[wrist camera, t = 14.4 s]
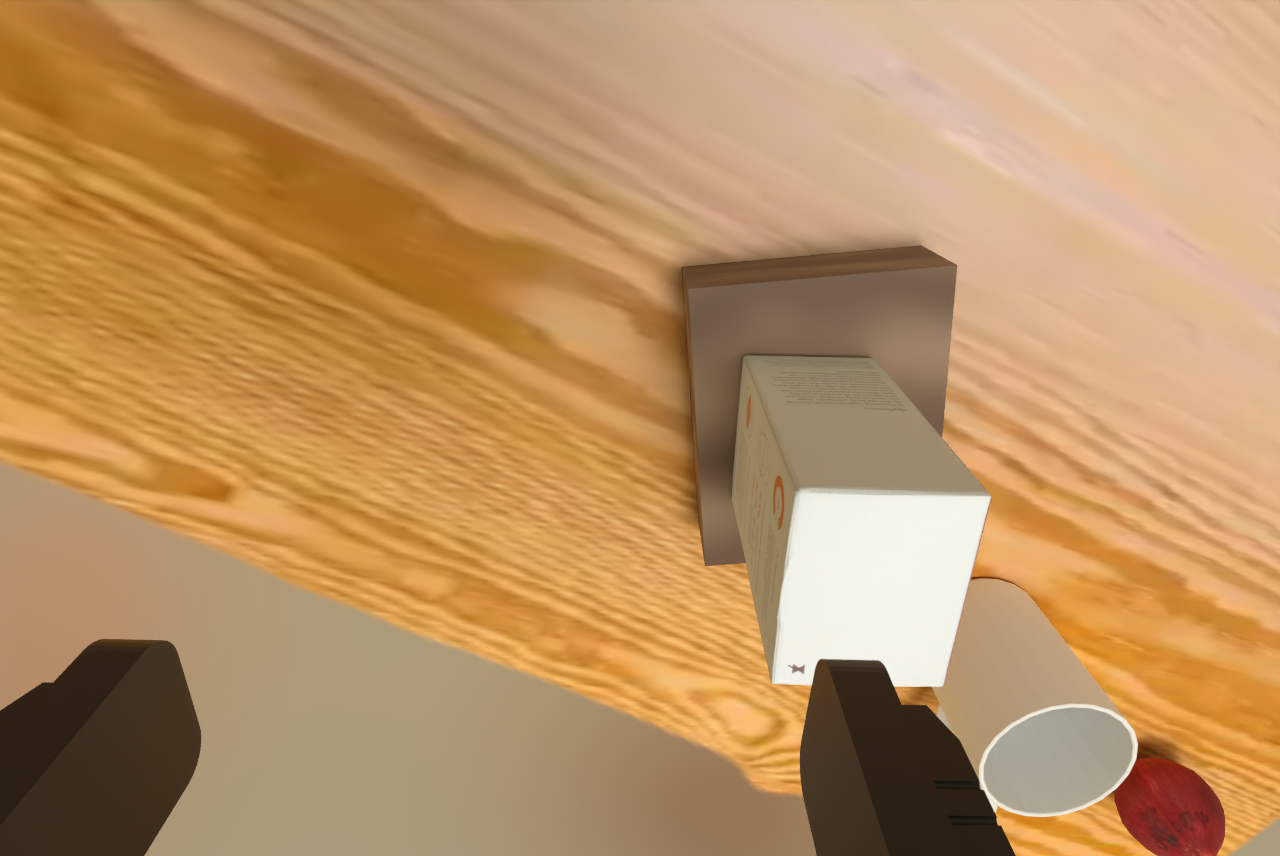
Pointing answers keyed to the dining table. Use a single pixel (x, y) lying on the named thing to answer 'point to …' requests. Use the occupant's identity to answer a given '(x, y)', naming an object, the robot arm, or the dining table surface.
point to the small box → (851, 520)
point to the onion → (1170, 809)
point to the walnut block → (806, 345)
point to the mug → (1030, 709)
